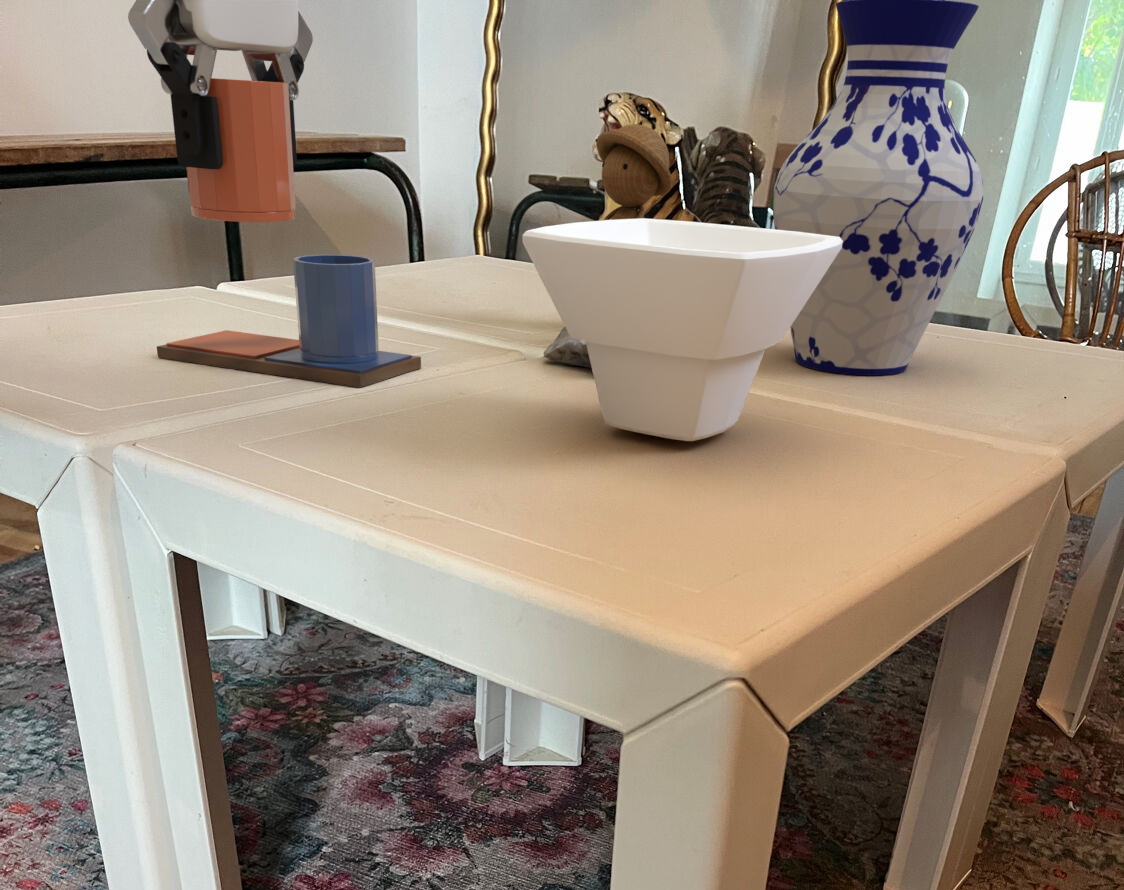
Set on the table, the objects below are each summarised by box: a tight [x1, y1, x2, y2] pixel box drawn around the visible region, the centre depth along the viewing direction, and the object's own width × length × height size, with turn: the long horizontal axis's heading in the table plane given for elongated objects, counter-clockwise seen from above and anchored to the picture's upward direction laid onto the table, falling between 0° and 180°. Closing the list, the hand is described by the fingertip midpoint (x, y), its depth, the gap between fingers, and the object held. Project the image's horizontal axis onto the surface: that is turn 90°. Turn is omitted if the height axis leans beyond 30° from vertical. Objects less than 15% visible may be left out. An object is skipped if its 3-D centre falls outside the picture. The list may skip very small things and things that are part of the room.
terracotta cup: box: [185, 77, 297, 223], centre depth 74 cm, size 7×7×8 cm
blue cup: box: [292, 254, 380, 364], centre depth 98 cm, size 7×7×8 cm
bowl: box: [522, 217, 843, 442], centre depth 82 cm, size 19×19×14 cm
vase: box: [772, 0, 984, 376], centre depth 104 cm, size 19×19×30 cm
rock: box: [543, 325, 592, 369], centre depth 105 cm, size 11×6×10 cm
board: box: [156, 329, 422, 389], centre depth 103 cm, size 22×10×1 cm, turn 65°
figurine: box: [595, 123, 673, 220], centre depth 119 cm, size 9×7×20 cm
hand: (239, 163), depth 74 cm, fingers closed on terracotta cup, 6 cm apart
